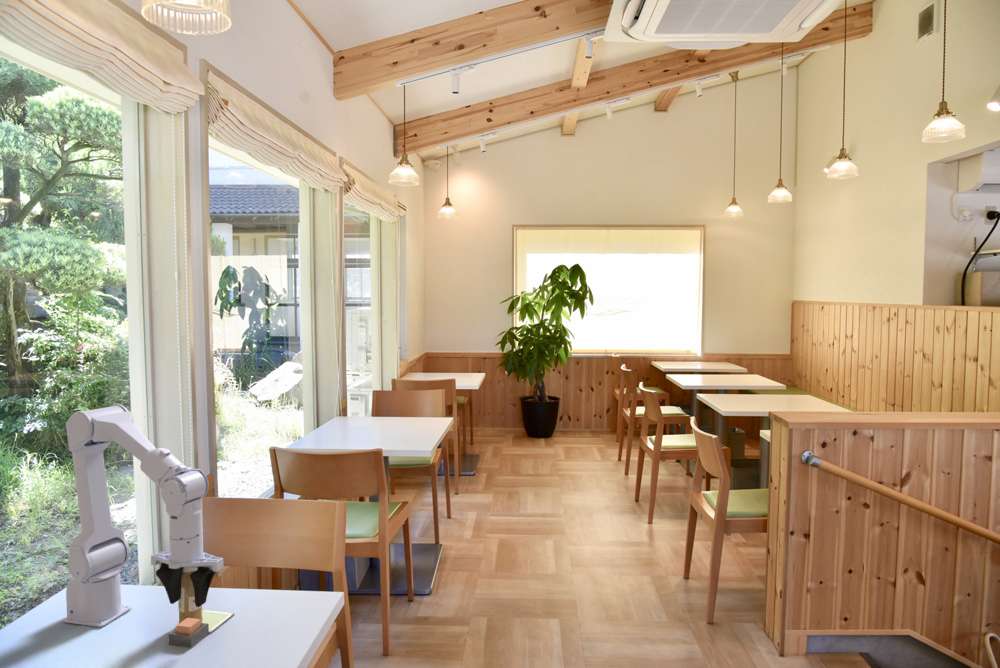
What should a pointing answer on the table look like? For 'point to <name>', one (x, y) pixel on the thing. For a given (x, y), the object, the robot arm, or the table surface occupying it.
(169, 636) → the button housing
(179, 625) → the button
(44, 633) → the table surface
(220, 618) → the picture board
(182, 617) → the sprinkles bottle
